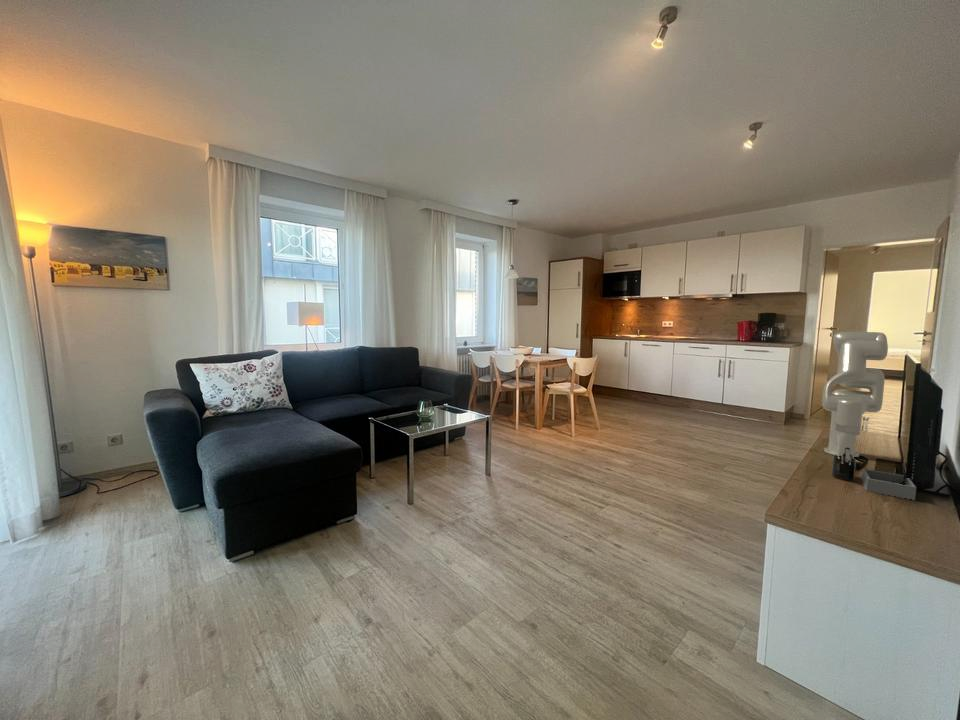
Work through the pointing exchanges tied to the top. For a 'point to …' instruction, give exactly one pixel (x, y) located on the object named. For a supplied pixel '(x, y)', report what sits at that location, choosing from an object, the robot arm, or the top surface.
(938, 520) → the top surface
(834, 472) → the supplement bottle
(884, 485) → the bin
